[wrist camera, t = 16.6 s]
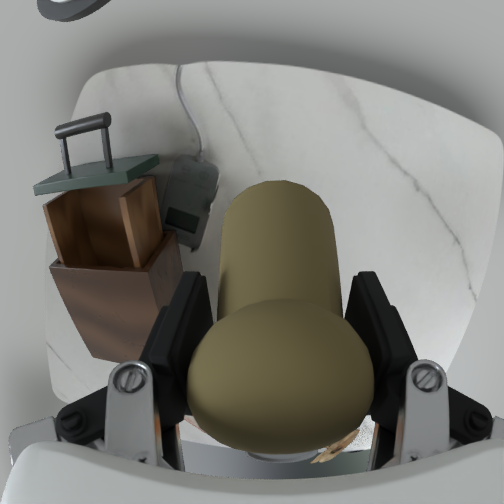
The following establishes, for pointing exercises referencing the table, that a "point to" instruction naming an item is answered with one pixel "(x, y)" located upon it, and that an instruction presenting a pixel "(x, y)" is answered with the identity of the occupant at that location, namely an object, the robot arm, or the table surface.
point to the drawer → (102, 205)
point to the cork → (279, 331)
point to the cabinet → (119, 300)
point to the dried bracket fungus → (336, 447)
